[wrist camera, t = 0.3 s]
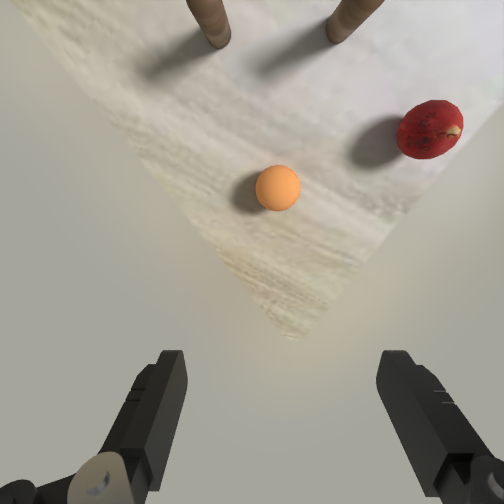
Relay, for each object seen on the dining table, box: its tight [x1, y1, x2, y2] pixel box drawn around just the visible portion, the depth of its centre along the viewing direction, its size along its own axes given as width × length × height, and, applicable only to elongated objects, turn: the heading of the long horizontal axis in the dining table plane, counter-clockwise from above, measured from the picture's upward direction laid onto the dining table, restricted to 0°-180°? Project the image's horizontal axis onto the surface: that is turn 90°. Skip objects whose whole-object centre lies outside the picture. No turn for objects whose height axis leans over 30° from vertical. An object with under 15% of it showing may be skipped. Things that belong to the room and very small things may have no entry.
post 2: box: [326, 0, 385, 44], centre depth 23 cm, size 3×3×9 cm
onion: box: [396, 100, 463, 159], centre depth 28 cm, size 6×6×8 cm
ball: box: [256, 165, 301, 211], centre depth 32 cm, size 6×6×6 cm
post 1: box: [186, 0, 231, 49], centre depth 24 cm, size 3×3×9 cm
